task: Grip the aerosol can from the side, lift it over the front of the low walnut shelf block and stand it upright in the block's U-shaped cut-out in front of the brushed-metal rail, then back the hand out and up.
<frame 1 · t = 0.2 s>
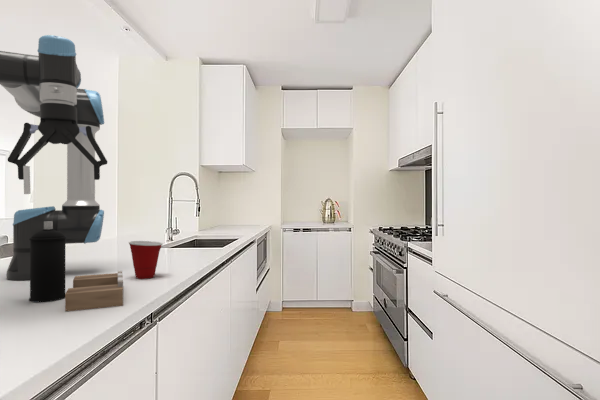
hand: (61, 193, 94), 27 cm above the counter, tool pointing down, fingers open, 13 cm apart
plastic cup: (145, 277, 130), on the counter
cutout stand: (97, 297, 103), on the counter
aerosol can: (48, 299, 102), on the counter
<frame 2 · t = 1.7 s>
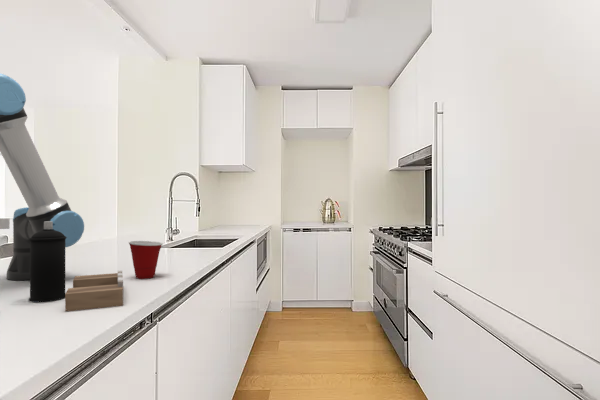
hand: (2, 224, 98), 19 cm above the counter, tool horizontal, fingers open, 13 cm apart
nothing on the counter moved.
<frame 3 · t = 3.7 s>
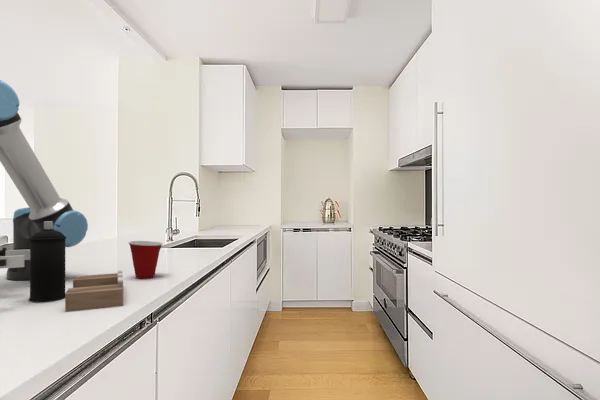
hand: (30, 257, 100), 11 cm above the counter, tool horizontal, fingers open, 13 cm apart
nothing on the counter moved.
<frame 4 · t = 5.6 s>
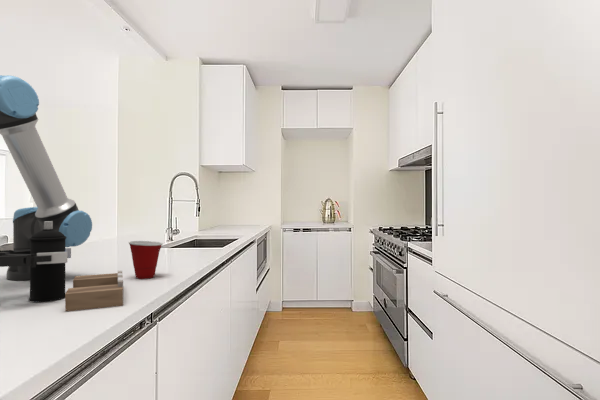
hand: (69, 254, 104), 11 cm above the counter, tool horizontal, fingers closed on aerosol can, 8 cm apart
aerosol can: (47, 299, 102), on the counter, touching gripper
everything else where it was.
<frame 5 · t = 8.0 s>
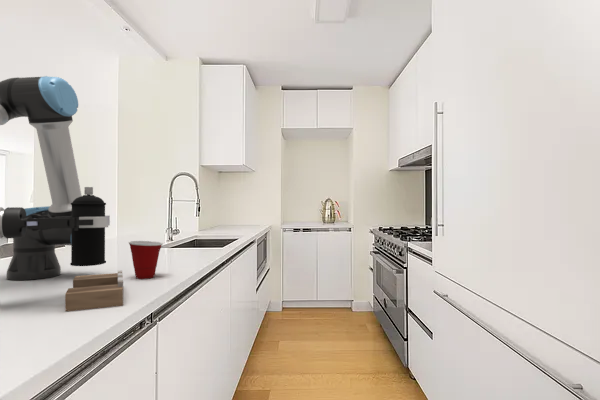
hand: (108, 221, 104), 20 cm above the counter, tool horizontal, fingers closed on aerosol can, 8 cm apart
aerosol can: (88, 264, 102), point 9 cm above the counter, touching gripper
everything else where it was.
when the fingers open (12 cm above the counter, at t = 10.4 s): aerosol can drops 1 cm, on the counter.
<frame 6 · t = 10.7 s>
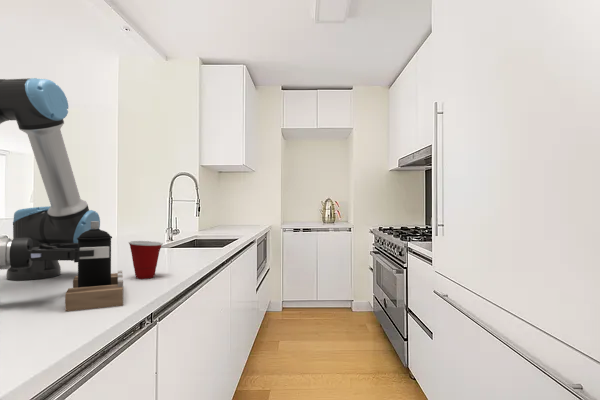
hand: (109, 249, 104), 12 cm above the counter, tool horizontal, fingers open, 12 cm apart
aerosol can: (94, 298, 103), on the counter
everything else where it was.
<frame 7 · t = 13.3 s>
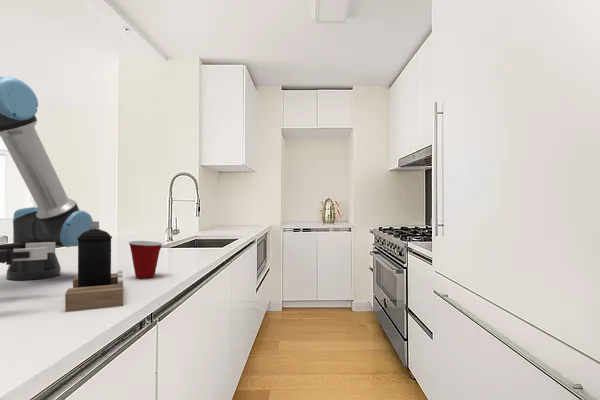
hand: (51, 250, 99), 13 cm above the counter, tool horizontal, fingers open, 13 cm apart
nothing on the counter moved.
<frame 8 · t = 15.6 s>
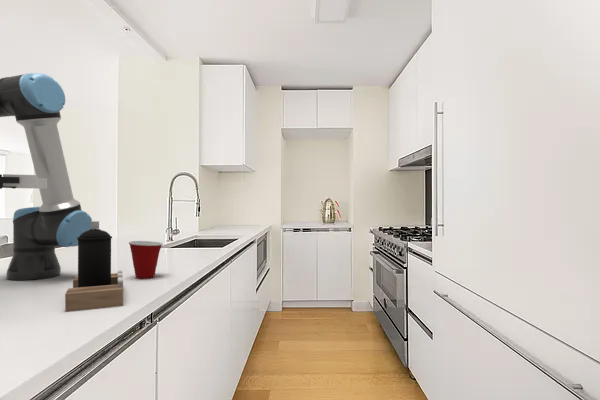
hand: (42, 182, 98), 30 cm above the counter, tool horizontal, fingers open, 13 cm apart
nothing on the counter moved.
at the end: aerosol can 0.1 cm off-centre on the cutout stand, point 0.0 cm above the cutout stand's base; aerosol can tilted 0°; the gripper is holding nothing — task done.
